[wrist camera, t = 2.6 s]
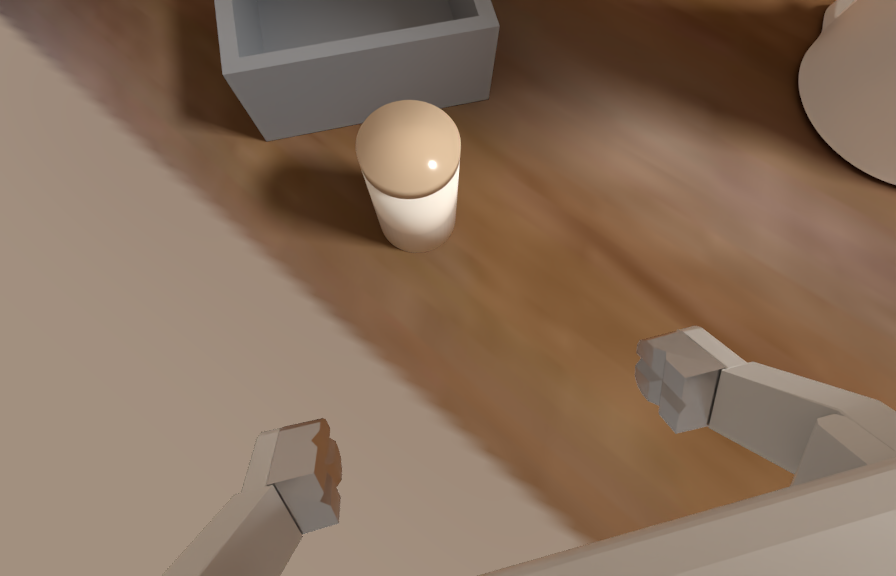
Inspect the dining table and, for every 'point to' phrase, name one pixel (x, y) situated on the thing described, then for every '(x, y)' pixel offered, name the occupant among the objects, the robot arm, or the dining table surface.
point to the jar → (411, 172)
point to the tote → (352, 57)
